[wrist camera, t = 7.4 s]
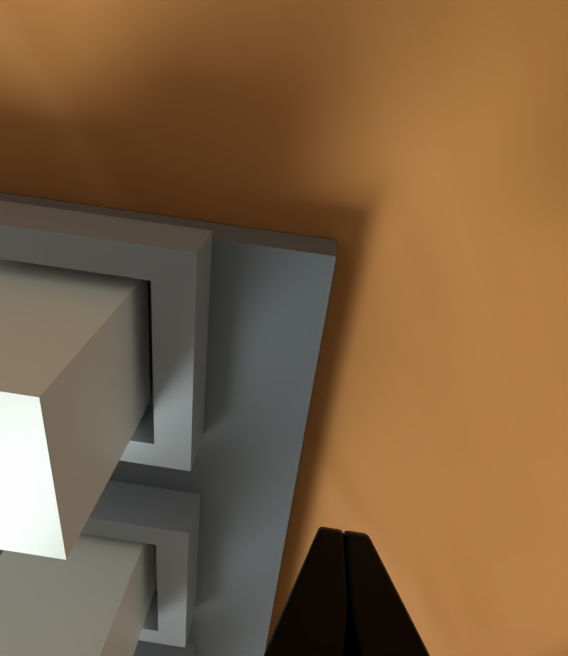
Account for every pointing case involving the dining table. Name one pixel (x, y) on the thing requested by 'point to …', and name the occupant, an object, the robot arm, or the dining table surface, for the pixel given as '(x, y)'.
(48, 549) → the tab
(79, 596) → the tab
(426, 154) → the dining table surface
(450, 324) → the dining table surface
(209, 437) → the switch board
